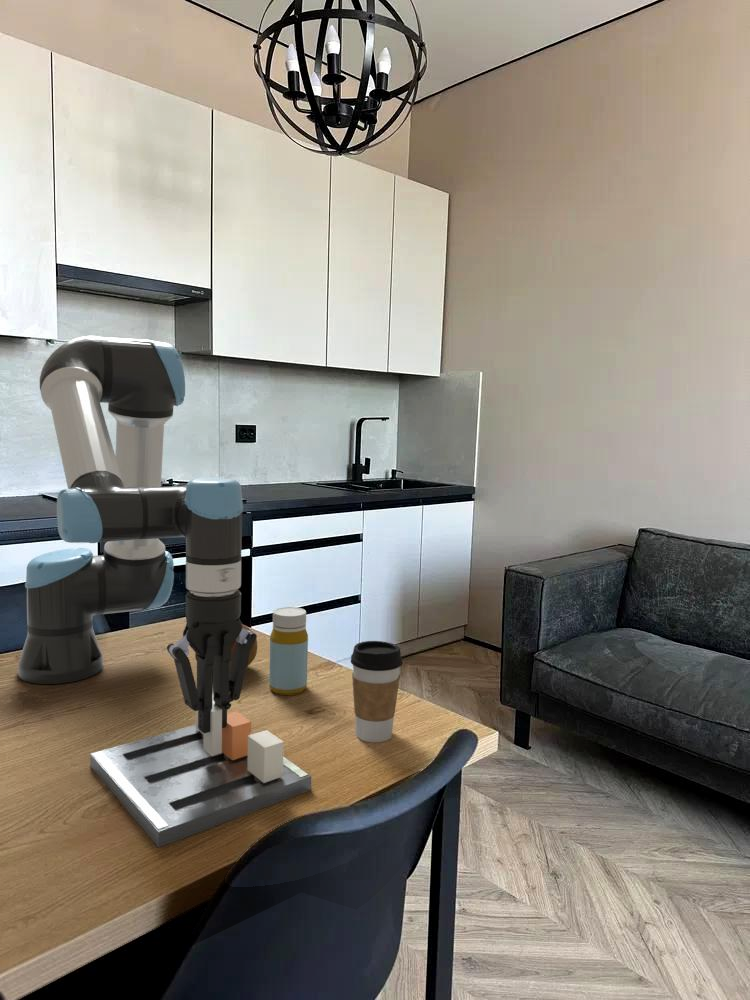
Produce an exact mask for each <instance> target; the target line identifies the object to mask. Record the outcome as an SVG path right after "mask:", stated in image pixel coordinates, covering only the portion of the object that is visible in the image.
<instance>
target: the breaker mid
mask: <svg viewBox="0 0 750 1000" xmlns="http://www.w3.org/2000/svg"><path fill="white" fill-rule="evenodd" d="M251 733H252V721H251V720H249V719H248V718H247V717H246V716H244V715H243V714H241V713H239V712H238V711H237V710H235V711H232V712H227V725H226V727H225V728H222V753H224V758H225V759H226V760H229V759H231V760H235V759H238V758H241V757H244V756H247V755H248V735H251Z"/></svg>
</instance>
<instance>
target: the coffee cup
mask: <svg viewBox="0 0 750 1000" xmlns="http://www.w3.org/2000/svg"><path fill="white" fill-rule="evenodd" d="M401 653H402V652H401V647H400V646H399V645H397V644H394V643H392V642H387V641H383V640H382V641H381V640H368V641H367V640H366V641H361V642H358V643H356V644H355V645H354V646H353V650H352V654H351V656H350V664H352V669H353V671H352V675H351V676H352V677H351V678H352V679H351V680H352V690H353V691H352V692H353V707H354V708H353V710H354V719H355V720H354V723H355V724H354V725H355V729H354V730H355V735H356V737H357V738H358V739H359V740H362V741H364V742H367V743H382V742H386V741H388V740H390V739H391V738H392V735H393V729H394V728H393V727H394V720H395V713H396V712H395V711H396V706H397V700H398V692H399V684H400V678H401V677H400V667H401V666H402V665H403V657H402V655H401Z"/></svg>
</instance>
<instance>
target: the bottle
mask: <svg viewBox="0 0 750 1000" xmlns="http://www.w3.org/2000/svg"><path fill="white" fill-rule="evenodd" d="M306 627H307V611H306V610H305V609H304V608H301V607H297V606H296V607H295V606H284V607H283V606H282V607H278V608H276V609H274V610H273V611H272V631H271V633H270V634H269V635H270V636H269V637H270V639H269V676H268V677H269V678H268V680H269V682H268V683H269V685H268V686H269V688H270V690H271V691H272V692H273V693H275V694H277V695H282V696H293V695H295V696H296V695H298V694H300V693H302V692H304V690H306V689H307V686H308V660H309V659H308V658H309V657H308V655H309V653H308V651H309V650H308V649H309V648H308V647H309V634H308V631H307V628H306Z"/></svg>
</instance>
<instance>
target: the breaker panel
mask: <svg viewBox="0 0 750 1000" xmlns="http://www.w3.org/2000/svg"><path fill="white" fill-rule="evenodd" d="M252 734H253V732H251V735H252ZM201 736H202V733H201V732H200V731H198V730H197V729H196V724H193V725H189V726H185V727H182V728H179V729H174V730H172V731H167V732H163V733H160V734H157V735H153V736H148V737H145V738H142V739H138V740H134V741H131V742H127V743H122V744H120V745H117V746H113V747H110V748H105V749H102V750H98V751H94V752H91V753H90V754H89V757H90V761H89V762H90V769H92V771H94V773H95V774H96V775H97V776H98V777H99V779H100V780H101V782H103V783H104V784H105V786H106V787H107V788H108V789H109V790H110V792H111V793H112V794H113V795H114V797H115V798H116V799H117V800H118V802H120V804H121V805H122V806H123V807H124V809H125V810H126V811H127V812H128V813H129V815H130V816H131V817H132V818H133V819H134V821H136V823H137V824H138V825H139V826H140V828H141V829H142V830H143V832H145V833H146V835H147V836H148V837H149V838H150V839H151V841H152V842H153V843H154V844H155V845H156V847H158V848H162V847H165V846H167V845H169V844H170V845H171V844H173V843H175V842H178V841H180V840H183V839H185V838H189V837H191V836H193V835H196V834H199V833H201V832H204V831H207V830H209V829H211V828H214V827H217V826H219V825H222V824H225V823H227V822H230V821H233V820H235V819H238V818H241V817H242V816H246V815H249V814H250V813H254V812H256V811H258V810H261V809H264V808H267V807H269V806H272V805H275V804H277V803H280V802H282V801H285V800H287V799H290V798H294V797H295V796H298V795H301V794H303V793H307V792H309V791H311V790H312V775H310V774H309V773H308V772H306V771H305V770H304V769H303V768H301V767H300V766H298V765H297V764H295V763H294V762H292V761H291V760H290V759H288V758H287V757H285V756H284V755H283V777H280V778H277V779H274V780H271V781H268V782H266V783H263V782H259V783H258V782H256V781H255V780H254V775H253V774H252V773H251V772H249V771H248V770H247V763H248V755H247V756H244V757H241V758H238V759H235V760H231V759H229V760H226V759H225V758H224V753H221V754H218V755H215V756H211V755H210V754H209V753H208V752H206V751H205V750H204V749H203V738H202V737H201Z"/></svg>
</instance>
